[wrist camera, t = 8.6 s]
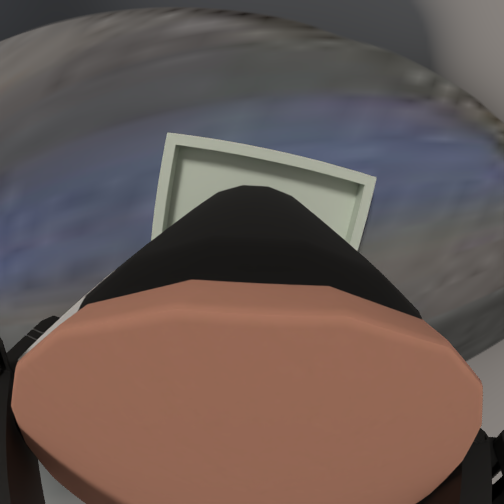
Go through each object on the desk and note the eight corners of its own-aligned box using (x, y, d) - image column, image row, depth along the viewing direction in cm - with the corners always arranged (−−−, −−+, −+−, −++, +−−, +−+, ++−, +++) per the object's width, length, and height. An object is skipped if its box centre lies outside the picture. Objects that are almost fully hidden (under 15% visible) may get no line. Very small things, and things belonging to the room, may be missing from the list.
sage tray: (152, 312, 25) (145, 322, 23) (174, 135, 21) (167, 132, 19) (317, 343, 26) (321, 354, 24) (367, 176, 21) (376, 177, 20)
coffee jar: (301, 329, 23) (351, 546, 6) (172, 305, 23) (74, 511, 5) (339, 202, 20) (557, 334, 3) (192, 170, 20) (-46, 218, 2)
